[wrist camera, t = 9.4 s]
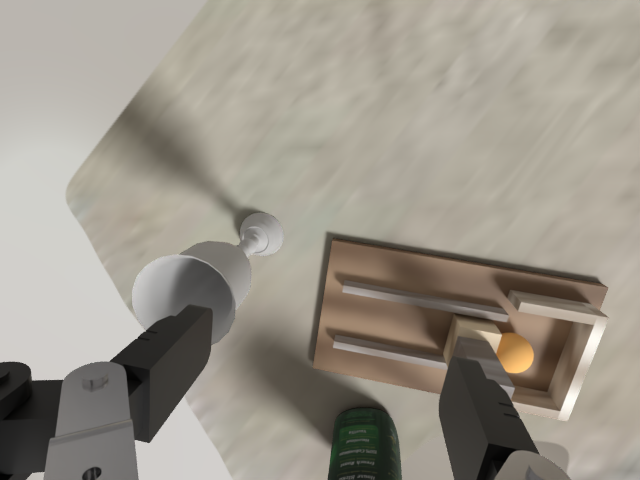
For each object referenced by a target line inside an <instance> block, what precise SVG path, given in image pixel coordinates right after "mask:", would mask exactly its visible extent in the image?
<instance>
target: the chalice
mask: <svg viewBox="0 0 640 480" xmlns="http://www.w3.org/2000/svg"><path fill="white" fill-rule="evenodd" d="M283 237H284V233H283V229H282V226H281V225H280V223H279V221H278V220H276V219H275V218H274V217H273V216H271V215H269V214H267V213H260V212H259V213H254V214H251V215H250V216H248V217H246V219H245V220H244V221H243V222H242V225H241V227H240V240H241V242H240V243H239V245H237V246H235V245H232V244H230V243H225V242H213V241H207V242H202V243H197V244H196V245H194V246H192V247H190V248H189V249H187V250H185V251H184V252H182V253H180V254H179V255H177V254H174V255H169V256H164V257H160V258H158V259H156V260H154V261H153V262H151V263H149V264H147V265H146V266H145V267H144V269H143V270H142V271H141V272H140V273H139V274H138V276H137V278H136V281H135V284H134V286H133V289H132V305H133V308H134V310H135V313H136V316H137V319H138V320H139V322H140V323H141V325H142V326H143V327H144V329H145V330H147V329H148V328H149V327H150V326H151V325H153V324H154V323H155V322H156V321H158V320H161V319H163V318H165V317H168V316H170V315H172V316H176V315H177V314H179V313H180V312H181V311H182V310H183V309H184V308H185V307H186V306H187V305H189V304H192V305H197V306H203V307H208V308H211V309H212V311H213V323H212V340H211V345H213V344H215V343H217V342H219V341H220V340H221V339H222V338H223V337H224V336H225V335H226V334H227V333H228V332H229V330H230V328H231V325H232V323H233V321H234V319H235V310H236V309H237V308H238V307H239V305H240V304H241V303H242V302H243V300H244V299H245V298H246V296H247V294H248V292H249V290H250V287H251V266H250V262H249V259H248V257H249V255H252V254H254V255H259V256H267V255H271V254H273V253H275V252H276V251H277V250H278V249H279V248H280V247H281V245H282V242H283Z"/></svg>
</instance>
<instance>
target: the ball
mask: <svg viewBox="0 0 640 480" xmlns="http://www.w3.org/2000/svg"><path fill="white" fill-rule="evenodd" d="M496 355H497V357H498V359H499V361H500V362H501V364H502V366H503V368H504V369H505V371H506V372H509V373H520V372H523V371H525V370H527V369H528V368H529V367H530V366H531V364H532V362H533V358H534V353H533V349H532V346H531V345H530V343H529V342H528V341H527V340H526V339H525V338H524V337H522V336H521V335H518V334H516V333H502V337H501V340H500V343H499V346H498V349H497V352H496Z"/></svg>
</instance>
